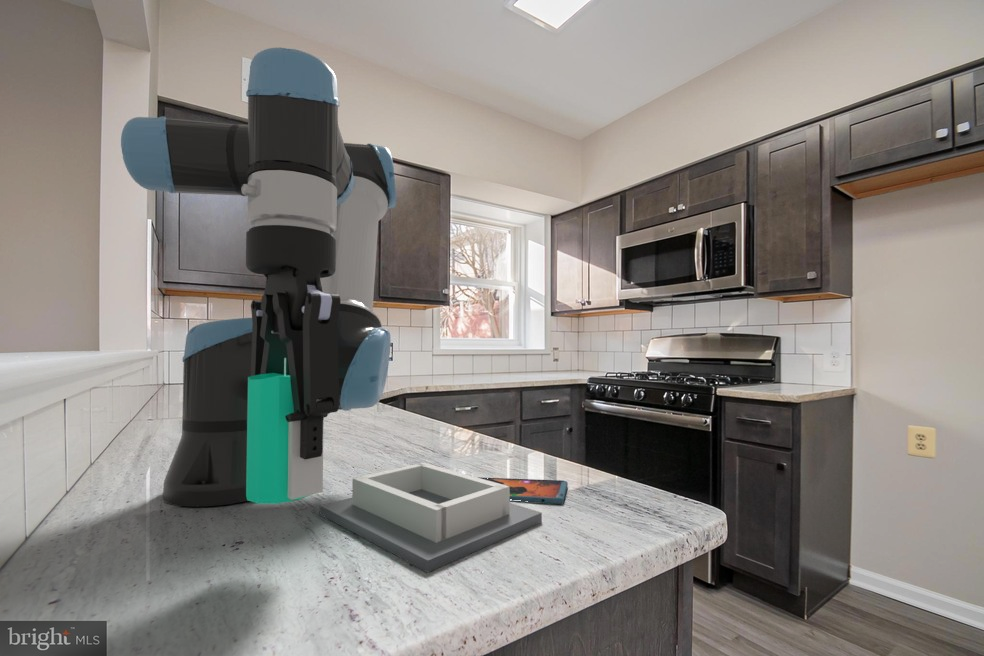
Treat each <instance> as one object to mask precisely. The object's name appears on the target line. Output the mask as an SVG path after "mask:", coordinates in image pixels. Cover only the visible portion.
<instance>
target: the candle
mask: <svg viewBox="0 0 984 656" xmlns="http://www.w3.org/2000/svg"><path fill="white" fill-rule="evenodd" d="M291 413H294V408H293V399H292V390H291V381H290V375H286V358H284V374H277V373H268V374H260V375H254V376H250V377H248V407H247V468H246V497H247V500H248V501H249V502H252V503H256V504H259V505H260V504H261V505H264V504H267V505H269V504H271V505H272V504H275V505H276V504H282V503H289V502H295V501H299V500H302V499H305V498H307V497H309V496H314V494H312V495H308V496H304V497H300V498H297V499H293V500H291V499H289V498H288V436H289V422H287V421H286V418H285V416H286V415H288V414H291ZM248 501H247V502H248Z"/></svg>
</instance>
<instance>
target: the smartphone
mask: <svg viewBox="0 0 984 656" xmlns="http://www.w3.org/2000/svg"><path fill="white" fill-rule="evenodd" d="M477 478H481V479H484V480H488V481H492V482H495V483H499V484H502V485H506V486H510V499H512V500H521V501H528V502H527V503H531V502H540V503H539V504H546V503H550V505H561V504H564V501H565V498H566V494H567V489H568V485H569V484H568V481H567V480H560V479H559V480H557V479H556V480H555V479H553V480H552V479H533V478H506V477H505V478H504V477H502V478H501V477H480V476H479V477H478V476H477ZM487 478H488V479H487Z"/></svg>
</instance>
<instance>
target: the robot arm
mask: <svg viewBox="0 0 984 656" xmlns="http://www.w3.org/2000/svg"><path fill="white" fill-rule="evenodd" d="M338 92H339V91H338V80H337V77H336V74H335V73H334V71H333V69H331V67H330V66H329V65H328V64H327V63H326V62H325V61H323V60H322V59H320V58H318V57H317V56H315V55H312V54H310V53H309V52H306V51H302V50H299V49H296V48H287V47H269V48H266V49H263V50H260V51H259V52H257V53H256V54H255V55H254V56H253V58H252V59H251V62H250V67H249V74H248V85H247V90H246V92H245V93H246V97H247V124H241V123H234V124H233V123H223V122H222V123H221V122H213V121H211V122H210V121H204V120H203V121H201V120H193V119H192V120H189V119H178V118H168V117H166V116H159V117H151V116H150V117H149V116H147V117H146V116H136V117H132V118H130V119H129V120H128V121H126V123H125V124H124V126H123V128H122V132H121V134H120V135H121V137H120V148H121V154H122V159H123V163H124V165H125V168H126V170H127V172H128V174H129V175H130V177H131V178H132V179H133V181H135V183H136V184H137V185H139V186H140V187H142V188H143V189H145V190H149V191H157V192H165V193H166V192H167V193H170V194H193V195H194V194H196V195H197V194H198V195H199V194H201V195H217V196H218V195H220V196H242V197H247V202H246V203H247V206H246V207H247V208H246V209H247V211H246V214H247V215H246V220H247V222H248V223H249V224H250V225H252V226H253V227H251V228H249V229H248V230H247V231H246V232H245V267H246V268H247V270H248V271H250V272H252V273H254V274H257V275H263V276H265V279H266V281H265V287H264V292H263V294H262V297H261V300H260V299H259V300H258V299H252V301H251V303H250V311H251V317H243V318H242V317H241V318H239V317H238V318H229V319H222V320H213V321H208V322H203V323H199V324H196V325H195V326H193V327H192V328H190V329H189V331H188V332H187V334H186V337H185V344H184V345H185V346H184V353H183V357H182V359H181V360H182V363H183V368H182V369H183V375H182V380H183V381H182V415H181V416H182V418H181V419H182V422H181V425H182V426H181V428H182V429H181V437H180V440H179V442H178V445H177V447H176V450H175V452H174V455H173V457H172V459H171V462H170V465H169V468H168V470H167V473H166V475H165V478H164V480H163V493H162V494H163V495H162V499H163V500H164V501H163V502H165V503H167V504H170V505H174V506H178V507H179V506H180V507H193V508H194V507H198V508H199V507H215V506H223V505H233V504H238V503H239V504H240V503H244V502H248V500H247V497H246V468H247V407H248V377H250V376H254V375H260V374H268V373H277V374H284V358H286V375H290V381H291V390H292V399H293V408H294V413H291V414H288V415H286V416H285V418H286V421H287V422H289V436H288V498H289V499H291V500H293V499H297V498H300V497H304V496H308V495H310V496H313V495H315V494H319V493H323V492H324V491H323V490H324V489H323V487H324V486H323V485H324V484H323V483H324V480H323V479H324V419H325V418H327V417H328V415H330V414H332V413H337V412H338V411H340V410H342V411H345V412H346V411H351V410H354V409H355V410H356V409H367V408H373V407H374V406H376V405H377V404H378V403H379V402H380V400H381V399H382V396H383V393H384V391H385V386H386V382H387V377H388V371H389V363H390V362H389V360H390V353H391V333H390V330H388V329H387V328H383V327H382V326H383V325H382V322H381V319H380V318H379V316H378V315H376V313H375V312H374V311H373V308H374V297H375V295H374V293H375V279H376V265H377V264H376V263H377V247H378V235H379V234H378V233H379V232H378V231H379V221H381V220H382V219H383V218H384V216H385V215H386V213H387V211H388V210H389V209H392V208H393V209H394V208H395V207H396V204H397V200H396V199H397V193H396V179H395V170H394V169H395V168H394V161H393V156H392V152H391V151H390V149H389V148H388V147H387V146H383V145H378V144H377V145H376V144H373V143H367V144H361V143H352V142H351V143H350V142H349V143H348V142H344V140H343V136H342V133H341V130H340V127H339V119H338V118H339V115H338V114H339V111H338V110H339V107H340V100H339V96H338ZM312 494H313V495H312ZM308 497H309V496H308Z"/></svg>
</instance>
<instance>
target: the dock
mask: <svg viewBox="0 0 984 656" xmlns="http://www.w3.org/2000/svg"><path fill="white" fill-rule="evenodd" d="M477 477H478V476H477ZM477 477H476V476H473V475H469V474H465V473H463V472H459V471H455V470H452V469H448V468H444V467H440V466H437V465H433V464H430V463H427V462H420V463H415V464H410V465H407V466H402V467H398V468H393V469H388V470H384V471H380V472H375V473H370V474H366V475H363V476H359V477H358V476H357V477H353V478H352V489H351V491H352V496H351V497H348V498H344V499H341V500H337V501H332V502H329V503H325V504H322V505H321V504H320V505H319V515H320V516H322V517H324V518H326V519H328V520H330V521H332V522H333V523H336V524H337V525H339V526H341V527H343V528H345V529H346V530H348V531H350V532H352V533H353V534H355V535H358V536H360V537H362V538H363V539H364V540H367V541H369V542H370V543H372V544H375V545H376V546H378V547H379V548H381V549H383V550H385V551H387V552H389V553H391V554H393V555H395V556H396V557H398V558H400V559H403V560H404V561H406V562H407V563H409V564H411V565H414V566H415V567H417V568H419V569H421V570H422V571H424V572H426V573H430V572H432V571H434V570H437V569H438V568H441V567H443V566H445V565H448V564H450V563H452V562H455V561H457V560H459V559H461V558H464V557H466V556H468V555H470V554H473V553H475V552H477V551H480V550H481V549H484V548H486V547H488V546H490V545H493V544H495V543H497V542H500V541H502V540H504V539H506V538H508V537H511V536H513V535H515V534H517V533H519V532H522V531H525V530H526V529H529V528H531V527H534V526H535V525H537V524H540V523H542V521H543V517H542V512H541V511H537V510H535V509H534V510H533V509H532V508H528V507H526V506H525V507H524V506H521V505H519V504H515V503H512V502H511V501H510V486H506V485H502V484H499V483H495V482H492V481H488V480H484V479H481V478H482V477H481V478H477Z"/></svg>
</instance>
